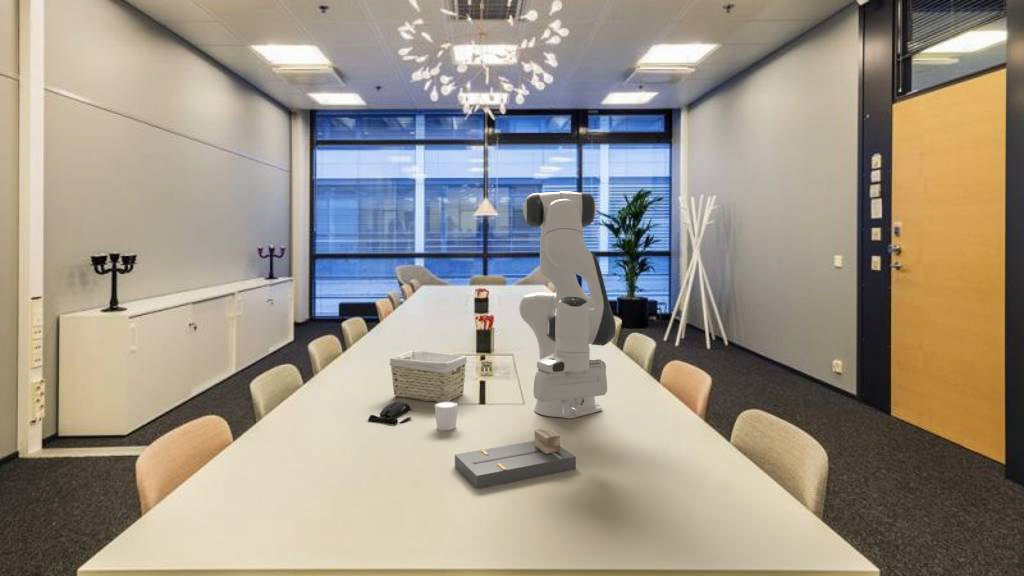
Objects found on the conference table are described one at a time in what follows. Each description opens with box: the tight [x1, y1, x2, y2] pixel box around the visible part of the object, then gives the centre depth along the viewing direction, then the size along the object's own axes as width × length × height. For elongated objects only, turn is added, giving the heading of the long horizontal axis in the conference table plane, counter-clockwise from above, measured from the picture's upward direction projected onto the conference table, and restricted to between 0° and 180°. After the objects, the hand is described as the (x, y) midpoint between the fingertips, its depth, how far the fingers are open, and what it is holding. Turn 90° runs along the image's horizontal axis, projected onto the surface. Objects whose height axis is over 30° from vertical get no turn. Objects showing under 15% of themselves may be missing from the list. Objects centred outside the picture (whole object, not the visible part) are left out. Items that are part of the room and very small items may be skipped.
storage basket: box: [389, 350, 468, 403], centre depth 199 cm, size 24×16×15 cm
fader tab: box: [533, 428, 561, 454], centre depth 138 cm, size 4×6×4 cm, turn 26°
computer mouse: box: [367, 400, 412, 426], centre depth 176 cm, size 12×18×4 cm
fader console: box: [454, 440, 577, 490], centre depth 135 cm, size 26×14×3 cm, turn 116°
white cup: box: [434, 401, 459, 431], centre depth 164 cm, size 7×7×7 cm
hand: (570, 415), depth 140 cm, fingers closed
